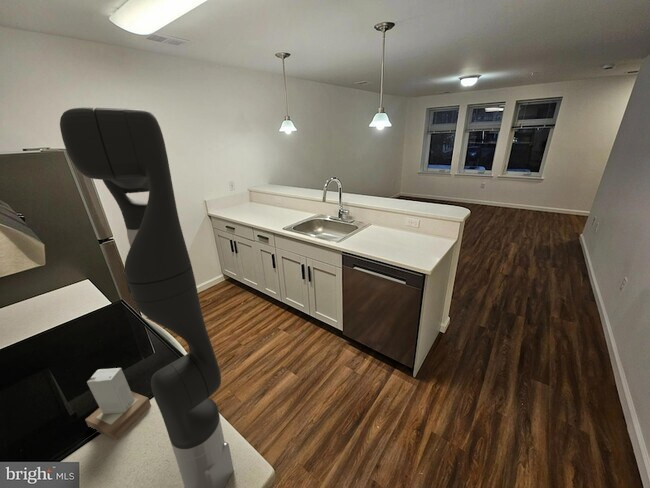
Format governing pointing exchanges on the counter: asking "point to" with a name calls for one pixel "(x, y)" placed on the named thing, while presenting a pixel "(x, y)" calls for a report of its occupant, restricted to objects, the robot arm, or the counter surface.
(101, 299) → the counter surface
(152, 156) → the robot arm
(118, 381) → the skincare box
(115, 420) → the walnut plinth
